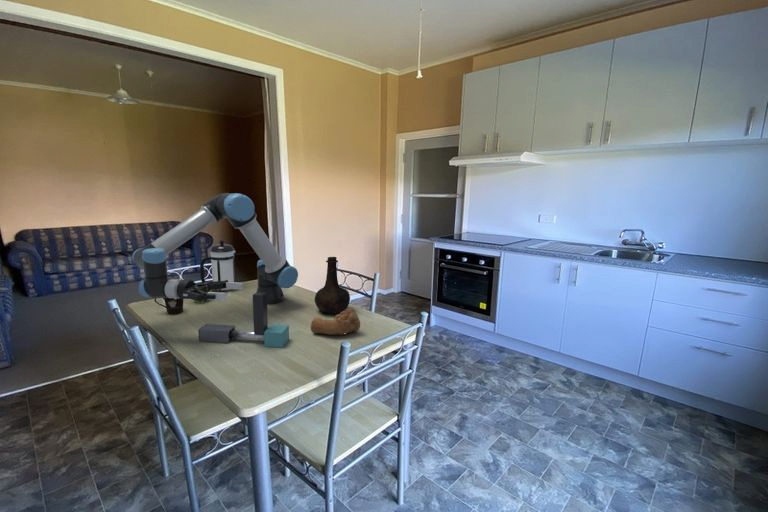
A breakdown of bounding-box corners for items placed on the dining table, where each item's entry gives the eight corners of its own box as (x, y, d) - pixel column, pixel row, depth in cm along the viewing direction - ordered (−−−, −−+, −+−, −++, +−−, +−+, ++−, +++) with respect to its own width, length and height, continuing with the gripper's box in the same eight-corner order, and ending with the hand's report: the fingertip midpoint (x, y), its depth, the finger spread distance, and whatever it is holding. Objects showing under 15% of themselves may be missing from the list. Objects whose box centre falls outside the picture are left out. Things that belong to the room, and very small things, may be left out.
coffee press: (216, 286, 212) (213, 237, 206) (242, 287, 212) (240, 238, 206) (201, 294, 195) (197, 242, 189) (228, 295, 195) (226, 243, 189)
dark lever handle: (227, 339, 137) (224, 293, 133) (232, 335, 141) (229, 290, 137) (274, 342, 136) (272, 296, 132) (277, 338, 140) (276, 293, 136)
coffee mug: (189, 309, 170) (187, 290, 169) (177, 315, 162) (175, 295, 160) (167, 308, 171) (165, 289, 170) (154, 314, 163) (152, 294, 161)
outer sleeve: (199, 341, 136) (198, 329, 136) (207, 335, 142) (206, 323, 141) (228, 343, 136) (227, 331, 135) (235, 336, 142) (235, 325, 141)
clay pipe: (350, 349, 142) (365, 327, 154) (347, 329, 137) (363, 308, 149) (311, 339, 149) (329, 319, 161) (307, 320, 144) (326, 300, 156)
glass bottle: (344, 318, 166) (345, 262, 161) (309, 315, 169) (308, 259, 163) (353, 306, 183) (354, 255, 178) (321, 304, 186) (321, 253, 181)
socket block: (264, 346, 134) (264, 332, 133) (272, 337, 142) (272, 324, 141) (282, 347, 134) (281, 333, 133) (289, 338, 142) (288, 325, 140)
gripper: (200, 288, 149) (248, 290, 147) (160, 309, 124) (217, 311, 123) (199, 272, 147) (247, 273, 146) (158, 289, 123) (216, 291, 121)
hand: (234, 291), depth 134 cm, fingers open, 13 cm apart
